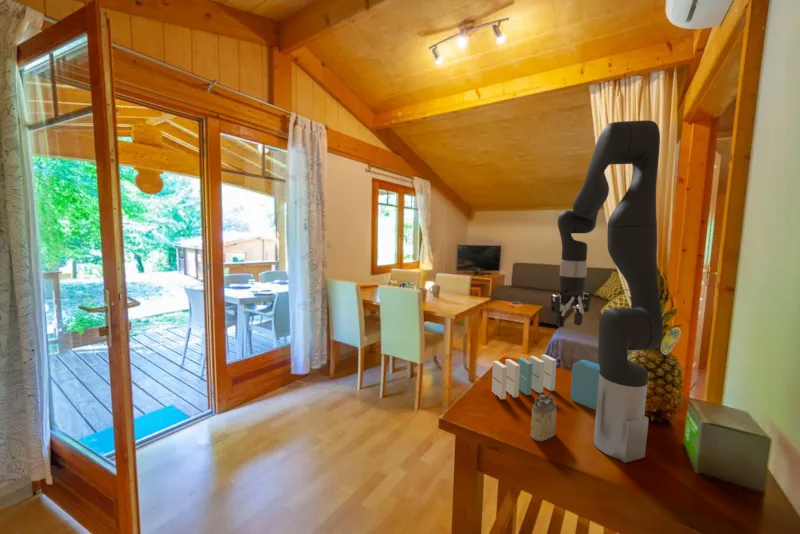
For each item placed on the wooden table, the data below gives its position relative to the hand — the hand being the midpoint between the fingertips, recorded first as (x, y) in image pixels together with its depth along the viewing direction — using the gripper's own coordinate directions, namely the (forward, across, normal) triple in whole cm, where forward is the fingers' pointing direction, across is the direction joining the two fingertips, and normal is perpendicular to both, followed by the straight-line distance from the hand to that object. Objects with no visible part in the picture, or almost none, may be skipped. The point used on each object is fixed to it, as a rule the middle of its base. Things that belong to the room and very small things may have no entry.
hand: (569, 325), depth 109 cm
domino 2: (+20, -21, 0) cm, 29 cm away
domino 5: (+20, -7, 0) cm, 21 cm away
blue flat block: (+20, -2, -14) cm, 24 cm away
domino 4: (+20, -12, 0) cm, 23 cm away
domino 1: (+20, -25, 0) cm, 32 cm away
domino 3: (+20, -16, 0) cm, 26 cm away
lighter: (+20, -26, -20) cm, 39 cm away
